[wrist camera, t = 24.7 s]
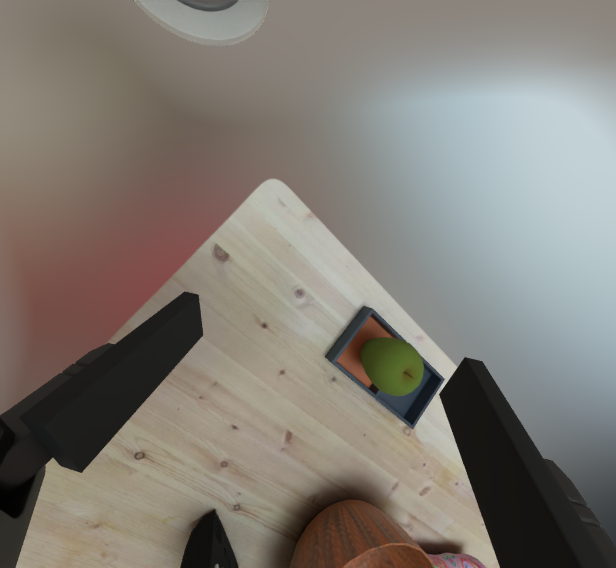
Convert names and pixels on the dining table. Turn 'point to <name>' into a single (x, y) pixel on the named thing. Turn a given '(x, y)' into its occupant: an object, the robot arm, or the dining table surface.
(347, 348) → the tray
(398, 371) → the apple
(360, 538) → the bowl
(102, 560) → the dining table surface
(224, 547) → the black electronic device
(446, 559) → the pencil case
